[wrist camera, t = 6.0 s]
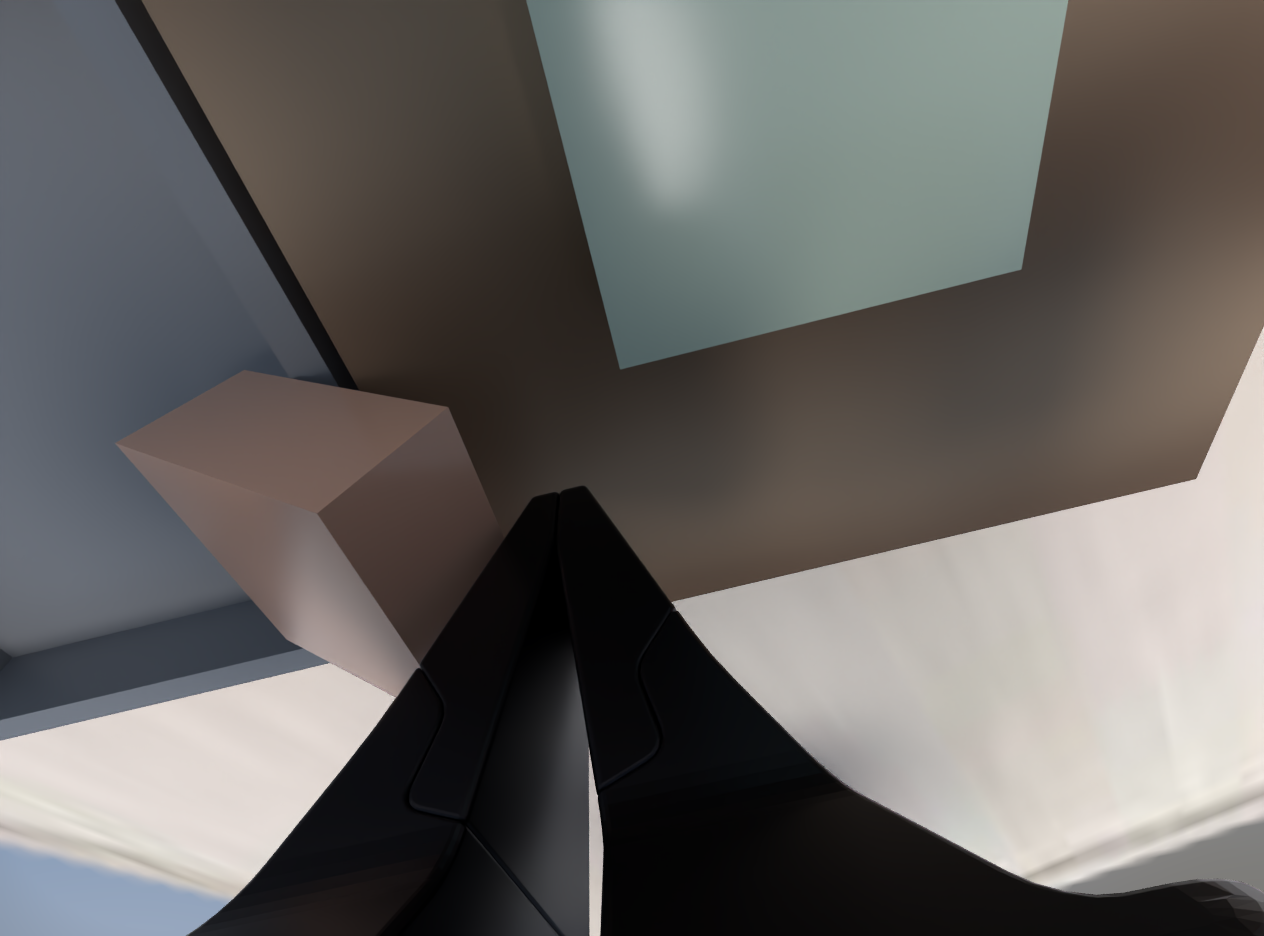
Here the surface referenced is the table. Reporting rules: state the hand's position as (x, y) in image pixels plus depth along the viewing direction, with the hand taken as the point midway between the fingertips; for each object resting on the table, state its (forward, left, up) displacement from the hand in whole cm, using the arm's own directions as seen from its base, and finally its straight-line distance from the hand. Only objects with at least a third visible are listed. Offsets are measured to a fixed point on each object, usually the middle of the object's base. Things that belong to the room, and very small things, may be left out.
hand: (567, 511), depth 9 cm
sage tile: (+5, -4, -1) cm, 6 cm away
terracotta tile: (0, +3, -1) cm, 3 cm away
